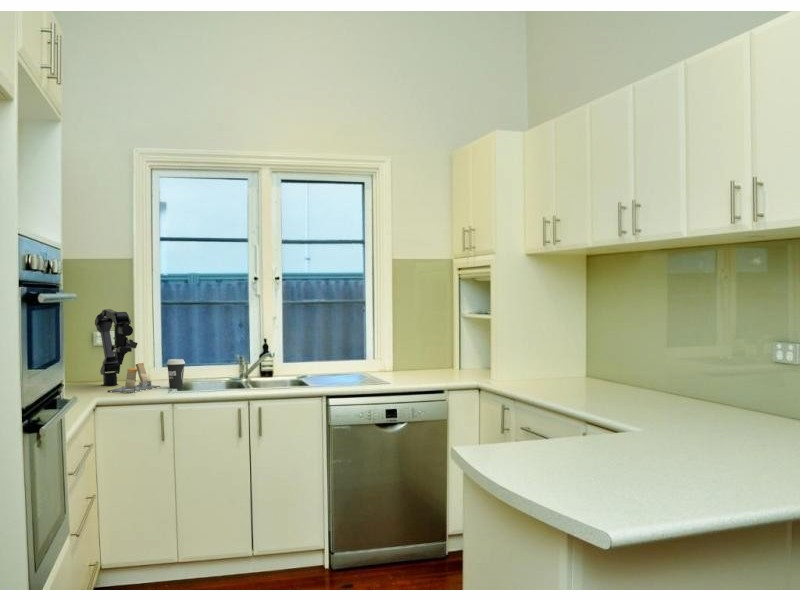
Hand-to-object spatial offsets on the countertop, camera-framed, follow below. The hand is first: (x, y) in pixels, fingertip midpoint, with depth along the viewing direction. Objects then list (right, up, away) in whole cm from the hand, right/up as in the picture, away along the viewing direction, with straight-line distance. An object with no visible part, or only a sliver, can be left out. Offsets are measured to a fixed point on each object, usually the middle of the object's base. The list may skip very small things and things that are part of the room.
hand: (120, 364), depth 354 cm
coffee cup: (+29, -13, +1) cm, 32 cm away
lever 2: (+12, -11, +2) cm, 16 cm away
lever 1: (+11, -11, -15) cm, 21 cm away
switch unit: (+10, -13, -6) cm, 17 cm away
